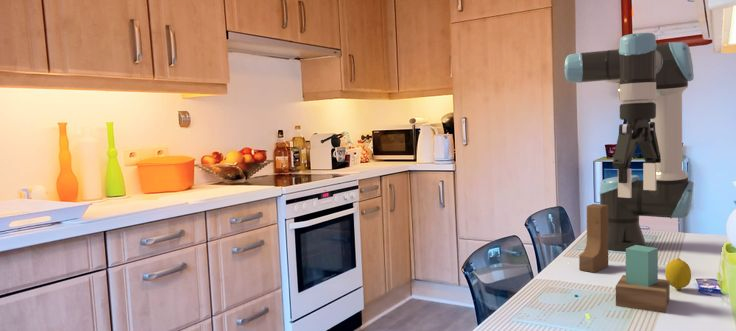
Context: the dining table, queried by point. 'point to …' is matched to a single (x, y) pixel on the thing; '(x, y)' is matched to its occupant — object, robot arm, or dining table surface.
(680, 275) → the lemon
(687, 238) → the dining table surface
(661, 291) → the walnut base block
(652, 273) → the teal block
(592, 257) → the wooden block
